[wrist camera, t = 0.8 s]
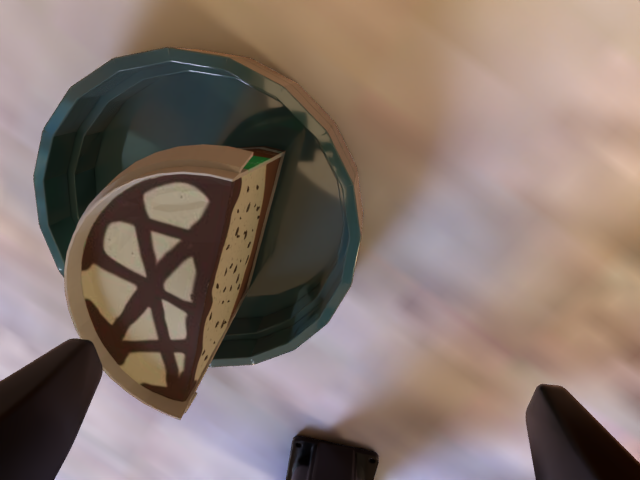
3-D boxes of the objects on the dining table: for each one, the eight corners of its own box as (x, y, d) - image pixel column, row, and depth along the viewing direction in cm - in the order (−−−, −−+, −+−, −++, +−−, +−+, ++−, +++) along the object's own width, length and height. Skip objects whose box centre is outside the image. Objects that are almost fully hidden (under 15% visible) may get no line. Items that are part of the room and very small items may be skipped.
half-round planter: (184, 88, 23) (55, 104, 14) (292, 124, 23) (236, 164, 14) (154, 279, 28) (44, 385, 19) (243, 308, 28) (178, 428, 19)
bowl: (335, 350, 28) (329, 392, 25) (92, 301, 29) (52, 335, 26) (389, 80, 22) (392, 83, 18) (71, 28, 23) (12, 21, 19)
